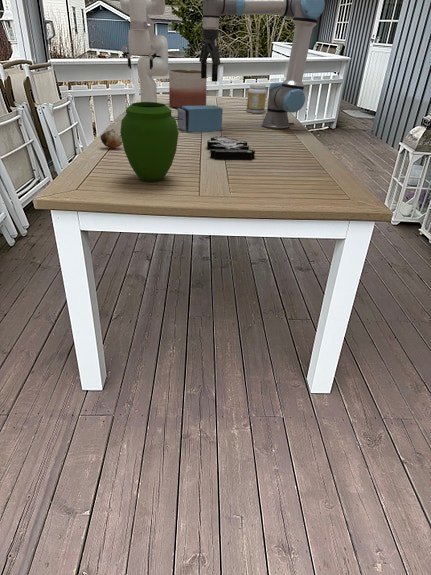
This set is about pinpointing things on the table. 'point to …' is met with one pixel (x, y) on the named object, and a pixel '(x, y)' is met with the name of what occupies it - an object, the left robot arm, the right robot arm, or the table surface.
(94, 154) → the table surface
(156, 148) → the vase
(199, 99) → the planter
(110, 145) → the seashell
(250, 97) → the supplement tub
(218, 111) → the blue storage bin
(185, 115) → the drawer
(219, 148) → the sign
